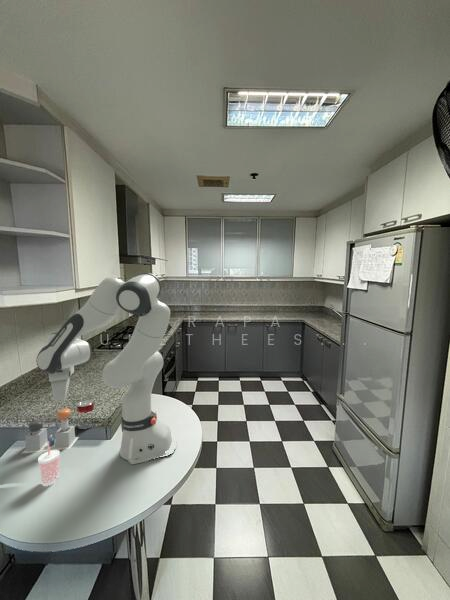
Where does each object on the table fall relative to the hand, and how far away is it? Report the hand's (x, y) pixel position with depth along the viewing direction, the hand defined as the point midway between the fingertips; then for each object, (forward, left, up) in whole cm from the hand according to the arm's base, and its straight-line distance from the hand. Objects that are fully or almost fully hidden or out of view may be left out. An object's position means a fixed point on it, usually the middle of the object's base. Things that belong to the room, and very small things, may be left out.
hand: (62, 402), depth 102 cm
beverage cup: (-5, +20, -19) cm, 28 cm away
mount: (+5, 0, -19) cm, 19 cm away
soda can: (-3, -13, -19) cm, 23 cm away
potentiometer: (+5, 0, -18) cm, 18 cm away
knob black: (+11, 0, -17) cm, 20 cm away
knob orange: (0, 0, -13) cm, 13 cm away
